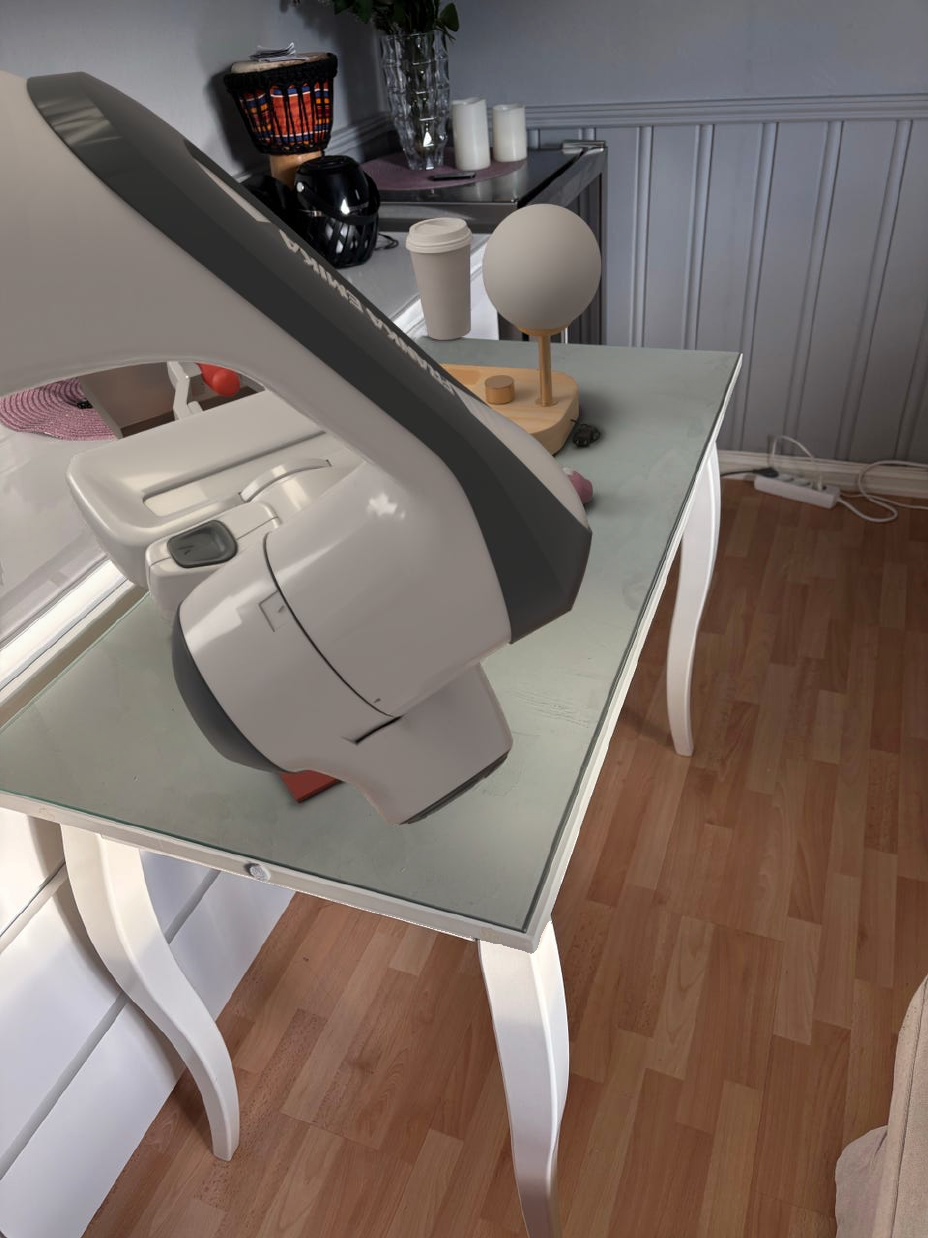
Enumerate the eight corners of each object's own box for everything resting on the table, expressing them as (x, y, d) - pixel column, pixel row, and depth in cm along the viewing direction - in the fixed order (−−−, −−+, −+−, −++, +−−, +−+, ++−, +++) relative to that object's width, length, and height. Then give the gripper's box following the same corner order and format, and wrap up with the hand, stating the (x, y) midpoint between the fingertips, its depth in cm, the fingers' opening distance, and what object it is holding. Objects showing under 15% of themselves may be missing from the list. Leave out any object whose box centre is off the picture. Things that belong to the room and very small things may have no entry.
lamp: (316, 446, 111) (269, 230, 95) (374, 385, 123) (341, 184, 107) (583, 471, 100) (580, 233, 84) (616, 401, 112) (619, 181, 97)
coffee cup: (493, 331, 133) (485, 224, 124) (437, 349, 130) (424, 241, 121) (460, 313, 140) (450, 211, 131) (406, 331, 137) (391, 227, 127)
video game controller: (498, 515, 98) (482, 479, 92) (510, 479, 99) (495, 441, 93) (587, 527, 94) (577, 491, 88) (598, 490, 96) (589, 452, 90)
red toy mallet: (266, 389, 52) (260, 362, 51) (201, 411, 51) (193, 384, 50) (160, 302, 66) (153, 280, 65) (106, 317, 65) (98, 295, 64)
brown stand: (223, 710, 76) (119, 427, 59) (177, 637, 84) (75, 372, 68) (330, 660, 79) (260, 381, 63) (276, 595, 88) (202, 333, 71)
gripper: (481, 444, 51) (362, 270, 55) (123, 587, 43) (15, 373, 47) (460, 505, 56) (354, 343, 60) (140, 640, 49) (42, 445, 53)
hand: (202, 357), depth 54 cm, fingers closed on red toy mallet, 1 cm apart
